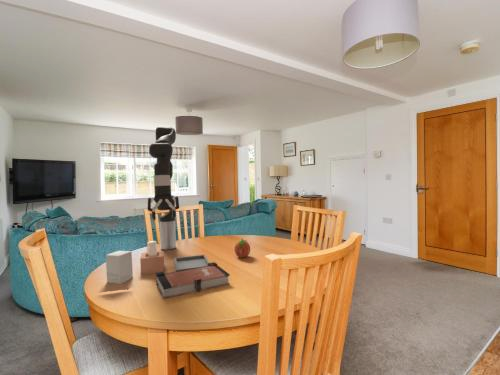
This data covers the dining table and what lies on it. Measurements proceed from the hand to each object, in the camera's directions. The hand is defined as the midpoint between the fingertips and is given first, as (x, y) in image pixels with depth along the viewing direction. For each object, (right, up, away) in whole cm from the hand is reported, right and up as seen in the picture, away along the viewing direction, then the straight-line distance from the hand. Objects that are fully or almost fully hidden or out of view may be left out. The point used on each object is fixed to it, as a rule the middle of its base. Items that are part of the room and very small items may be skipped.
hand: (164, 218), depth 130 cm
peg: (-5, -24, -1) cm, 24 cm away
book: (+17, -25, -18) cm, 36 cm away
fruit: (+37, -23, +19) cm, 48 cm away
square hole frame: (-5, -25, -1) cm, 25 cm away
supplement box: (-14, -26, -14) cm, 32 cm away
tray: (+12, -24, +4) cm, 27 cm away
